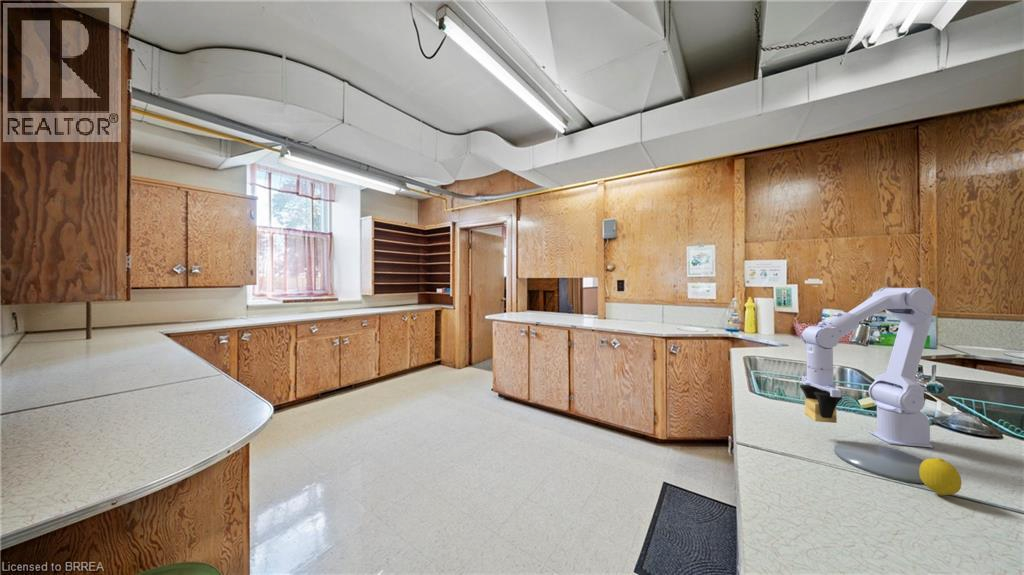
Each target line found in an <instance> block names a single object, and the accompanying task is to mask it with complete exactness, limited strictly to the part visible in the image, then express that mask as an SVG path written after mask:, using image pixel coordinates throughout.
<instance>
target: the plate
mask: <svg viewBox="0 0 1024 575" xmlns="http://www.w3.org/2000/svg"><path fill="white" fill-rule="evenodd" d="M833 448H834V450H833V451H834V453H835V454H834V455H836V456H837V457H838V458H839V459H840V460H842V461H844V462H845V463H847V464H848V465H851V466H853V467H855V468H858V469H860V470H862V471H864V472H868V473H870V474H874V475H877V476H880V477H883V478H886V479H891V480H894V481H898V482H904V483H909V484H916V483H923V482H922V480H921V478H920V475H919V468H920V465H921V463H922V462H923V461H924V460H925V459H922V458H920V457H917V456H915V455H913V454H909V453H907V452H903V451H900V450H897V449H893V448H890V447H886V446H882V445H877V444H872V443H866V442H858V441H857V442H856V441H842V442H838V443H836V444H835V445H834V447H833Z"/></svg>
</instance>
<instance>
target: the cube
mask: <svg viewBox="0 0 1024 575" xmlns="http://www.w3.org/2000/svg"><path fill="white" fill-rule="evenodd" d="M804 415H805V416H807V417H808V418H809V419H810V420H813V421H814V422H819V423H821V422H822V423H831V424H832V423H834V424H837V423H838V421H837V420H838V419H837V406H836V407H835V410H834V413H833V415H832V418H823V417H822V416H821V414H820V408H819V403H818V400H817V399H809V398H806V397H805V398H804Z"/></svg>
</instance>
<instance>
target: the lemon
mask: <svg viewBox="0 0 1024 575" xmlns="http://www.w3.org/2000/svg"><path fill="white" fill-rule="evenodd" d="M923 460H924V461H923V462H922V463H921V465H920V468H919V475H920V478H921V480H922V482H923V483H924V484H923V485H924V486H926V488H928V489H930V491H932V492H935V493H936V495H938V496H940V495H941V497H942V496H947V495H949V496H951V495H955V494H957V493H958V492H960V490H961V488H962V478H961V475H960V472H959V471H958V470H957V468H956V467H955V466H954V465H952V464H951V463H949V462H948V461H946V460H944V459H943V458H941V457H936V458H934V457H933V458H926V459H923Z"/></svg>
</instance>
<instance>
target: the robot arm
mask: <svg viewBox="0 0 1024 575" xmlns="http://www.w3.org/2000/svg"><path fill="white" fill-rule="evenodd" d="M936 301H937V299H936V297H935V296H934V295H933V294H932V293H931V292H930V290H929V289H927V288H924V287H919V286H918V287H891V286H890V287H888V286H884V287H882V288H879V289H878V290H876V291H874V292H872V296H870V297H869V298H867V299H865V301H863V302H862V303H860V304H858V305H857V306H856V307H854V308H853V309H851V310H849V311H848V312H845V311H839V312H837V311H835V312H833V313H832V316H830V317H829V318H827V319H825V320H824V321H820V322H817V325H816V326H815V325H810V326H808V327H805V328H804V330H803V331H802V334H800V339H801V341H802V343H803V344H804V348H805V350H806V355H805V357H806V375H801V382H802V384H800V385H799V388H800V389H801V390H802V392H803V394H804V396H805V398H809V399H817V400H818V403H819V408H820V414H821V416H822V417H823V418H832V415H833V413H834V410H835V407H836V408H837V406H838V403H840V401H841V400H842V399H843V395H842V390H841V389H839V388H838V387H837V386H836V385H835V384H834V355H833V354H834V347H837V346H838V344H839V342H840V340H842V338H843V337H845V336H846V335H848V334H849V333H851V332H853V331H855V330H856V329H858V328H859V327H860V322H862V321H863V320H866V319H868V318H870V317H872V316H874V315H876V314H879V313H880V312H882V311H883V312H884V310H885V311H886V312H888V313H890V314H892V315H893V316H895V317H896V318H897V319H898V320H899V326H898V329H897V333H896V335H895V336H896V337H895V340H894V343H893V347H892V350H891V353H890V357H889V362H888V364H887V368H886V372H884V373H881V374H879V375H876V376H875V378H874V381H873V382H872V384H870V386H869V387H868V396H869V397H870V399H872V401H874V403H873V404H874V405H875V406H876V430H868V433H870V434H872V435H873V436H875V437H876V438H879V439H881V440H882V441H884V442H886V443H887V444H890V445H900V446H911V447H924V448H933V445H932V444H931V423H930V420H929V418H928V416H927V415H926V414H925V413H924V412H922V410H923V409H924V406H925V404H926V403H925V397H924V396H925V387H923V386H922V385H921V384H920V383H919V382H918V381H917V380H916V377H917V374H918V373H917V372H918V369H919V366H920V362H921V359H922V354H923V352H924V348H925V346H926V342H927V338H928V334H929V330H930V328H931V324H932V318H933V316H932V315H933V310H934V307H935V303H936Z"/></svg>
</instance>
